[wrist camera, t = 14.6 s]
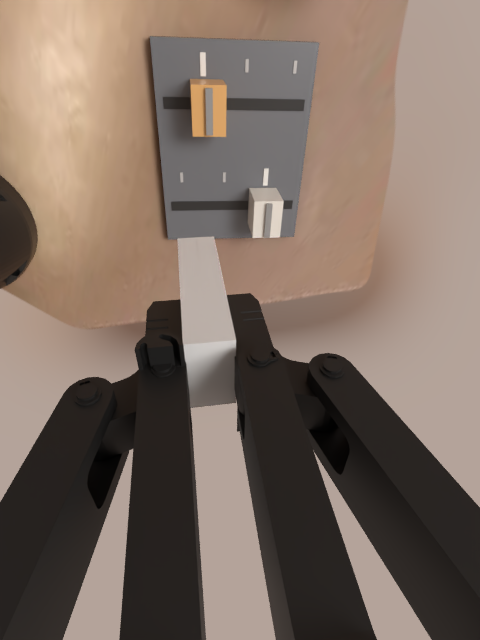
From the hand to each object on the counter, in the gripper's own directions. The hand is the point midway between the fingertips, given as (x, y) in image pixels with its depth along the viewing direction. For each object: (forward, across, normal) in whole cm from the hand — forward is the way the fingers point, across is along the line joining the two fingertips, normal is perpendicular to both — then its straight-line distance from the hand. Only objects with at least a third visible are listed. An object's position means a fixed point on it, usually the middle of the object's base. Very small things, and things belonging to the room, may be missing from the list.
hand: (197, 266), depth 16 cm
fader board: (+28, +5, -3) cm, 29 cm away
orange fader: (+27, +3, +2) cm, 27 cm away
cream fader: (+27, +8, -8) cm, 29 cm away
